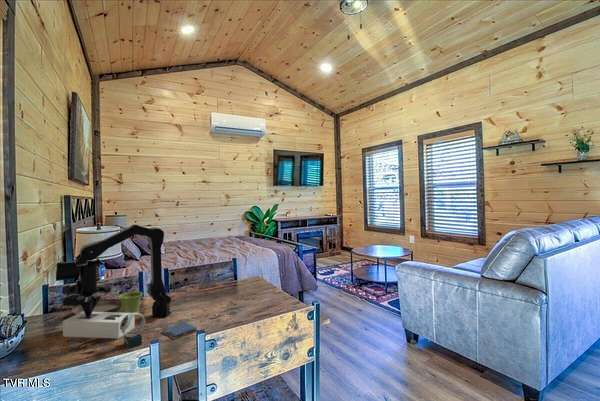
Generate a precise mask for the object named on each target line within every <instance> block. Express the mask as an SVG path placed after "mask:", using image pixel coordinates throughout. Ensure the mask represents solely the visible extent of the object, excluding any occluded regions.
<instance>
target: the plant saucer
mask: <svg viewBox="0 0 600 401" xmlns="http://www.w3.org/2000/svg"><path fill="white" fill-rule="evenodd" d="M120 309H122V302H121V299H119V298H106V299H99V301H98V302H97V304H96V306H95V308H94V310H93V312H118V311H120ZM83 311H84V310H83V308H82V306H81V305H79V306H73V307H72V309H71V313H72V314H73V316H74V315H77V314H79V313H81V312H83Z"/></svg>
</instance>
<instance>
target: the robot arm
mask: <svg viewBox="0 0 600 401" xmlns="http://www.w3.org/2000/svg"><path fill="white" fill-rule="evenodd" d="M135 235H138V236H139V235H140V236H143V237H146V238H147V243H148V245H149V248H150V277H151V278H150V279H151V280H150V281H149V282H150V283H146V293H147V294H148V296H149V297H150V298H151V299H152V300H153V302H152V306H151V316H150V317H151V318H156V319H157V318H158V319H161V318H162V319H165V318H167V317H168V316H170V315H171V314H172V311H170V310H171V300H172V297H171V296H169V295H167V293H166V292H167V291H166V287H165V284H164V281H163V276H162V275H163V274H162V247H163V244H164V237H165V232H164V230H162V228H158V227H149V228H148V227H145V226H140V225H139V224H132V225H130V226H129V227H126V228H124V229H123V230H120V231H118V232H116V233H115V234H112V235H110V236H108V237H106V238H103V239H102V240H98V241H95V242H92V243H87V244H85V245H82V246H81V248H79V254H78V255H77V256H76V257H75V258H74V259H73V260H72V261H65V262H64V261H60V262H56V268H55V269H56V270H55V282H59V281H60V282H61V281H66V280H74V279H75V278H76V277H77V276H79V279H77V280H76V282H75V284H74V285H72V286H71V284H67V285H64V286H62V287H61V293H62V294H63V295H64V296H66V297H64V298H63V299H62V306H63V307H65V306H66V307H68V306H69V307H76V306H79V305H81V306H82V308H83V310H84V313H85V315H86V317H89V316H90V315H91V313H92V312H93V310H94V308H95V306H96V304H97V302H98V301H99V300H101V299H102V296H101V295H99V293H102V292H103V293H104V294H109V293H111V292H112V287H111V286H110V285H109V284H98V282H99V281H100V280H101V278H100V277H98V266H101V265H104V262H103V261H102V260H100V258H98V257H100V256H102V254H104V253H105V252H106V251H107V250H109V249H110V248H112V247H114V246H116V245H118V244H120V243H122V242H123V241H126V240H128V239H130V238H132V237H134V236H135Z"/></svg>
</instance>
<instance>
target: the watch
mask: <svg viewBox="0 0 600 401" xmlns="http://www.w3.org/2000/svg"><path fill="white" fill-rule="evenodd" d="M134 315H135V316H141V321H140V325H139V326H138V328H137V330H136V331H134V332H130V333H126V334H125V333H124V332H125V330H126V329H127V328H128V326H129V325H130V323H131V319H132V318H133V316H134ZM145 324H146V318H145V316H144V315H143V314H142V313H139V312H138V313H131V314H129V315H126V316H125V317H124V318H123V320H122V322H121V324H120V329H121V332H122V333H123V334H124V335H123V343H124V346H126V348H127V349H128V350H130V349H133V348H136V347H139V346H142V345H143V335H141V333H142V331H144V330H143V329H144V328H145V326H146V325H145Z"/></svg>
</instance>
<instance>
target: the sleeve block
mask: <svg viewBox="0 0 600 401" xmlns="http://www.w3.org/2000/svg"><path fill="white" fill-rule="evenodd" d="M91 314H95V317H93V318H91V319H81V317H82V316H84V315H85V313H84V311H83V312H81V313H79V314H77V315H74V314H73V315H72V316H71V317H69V318H65V319H64V320H62V337H66V338H88V339H89V338H91V339H92V338H93V339H95V338H96V339H116V340H117V339H120V338H122V337H124V334H123V333H122V332H121V329H120V324H121V322H122V320H123V318H124V317H125V316H126V315H129V314H131V313H123V312H118V311H117V312H92V313H91ZM111 315H119V318H117V319H115V320H105V318H106V317H108V316H111ZM135 316H136V315H134V316H133V318H132V319H131V323H130V325H129V326H128V328H127V329H126V330H125V332H124V333H125V334H128V333H129V332H131V331H132V330H133V329H135V328H136V326H135V323H136V322H135V320H136V319H135Z"/></svg>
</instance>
